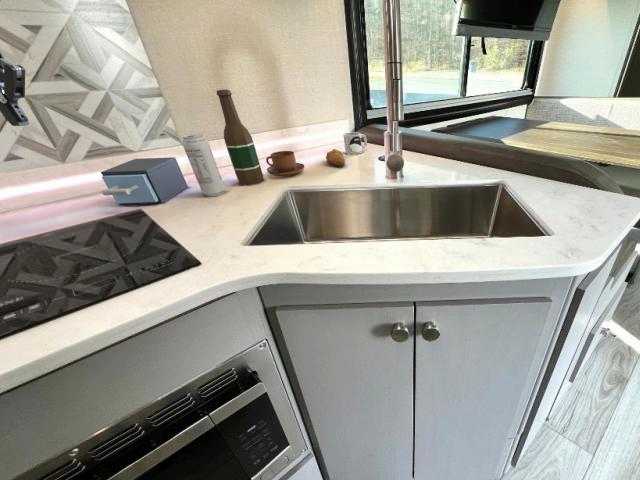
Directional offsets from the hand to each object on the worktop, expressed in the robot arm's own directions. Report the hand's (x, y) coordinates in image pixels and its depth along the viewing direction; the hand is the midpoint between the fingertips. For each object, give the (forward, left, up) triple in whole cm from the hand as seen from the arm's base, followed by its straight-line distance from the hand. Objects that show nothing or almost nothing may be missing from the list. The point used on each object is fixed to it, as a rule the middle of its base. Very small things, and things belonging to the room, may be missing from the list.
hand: (21, 125), depth 62 cm
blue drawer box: (+4, +20, -21) cm, 29 cm away
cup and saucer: (+37, +38, -21) cm, 57 cm away
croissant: (+52, +48, -21) cm, 74 cm away
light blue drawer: (+4, +16, -20) cm, 26 cm away
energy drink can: (+21, +20, -21) cm, 36 cm away
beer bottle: (+28, +30, -21) cm, 46 cm away
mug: (+58, +66, -21) cm, 90 cm away
